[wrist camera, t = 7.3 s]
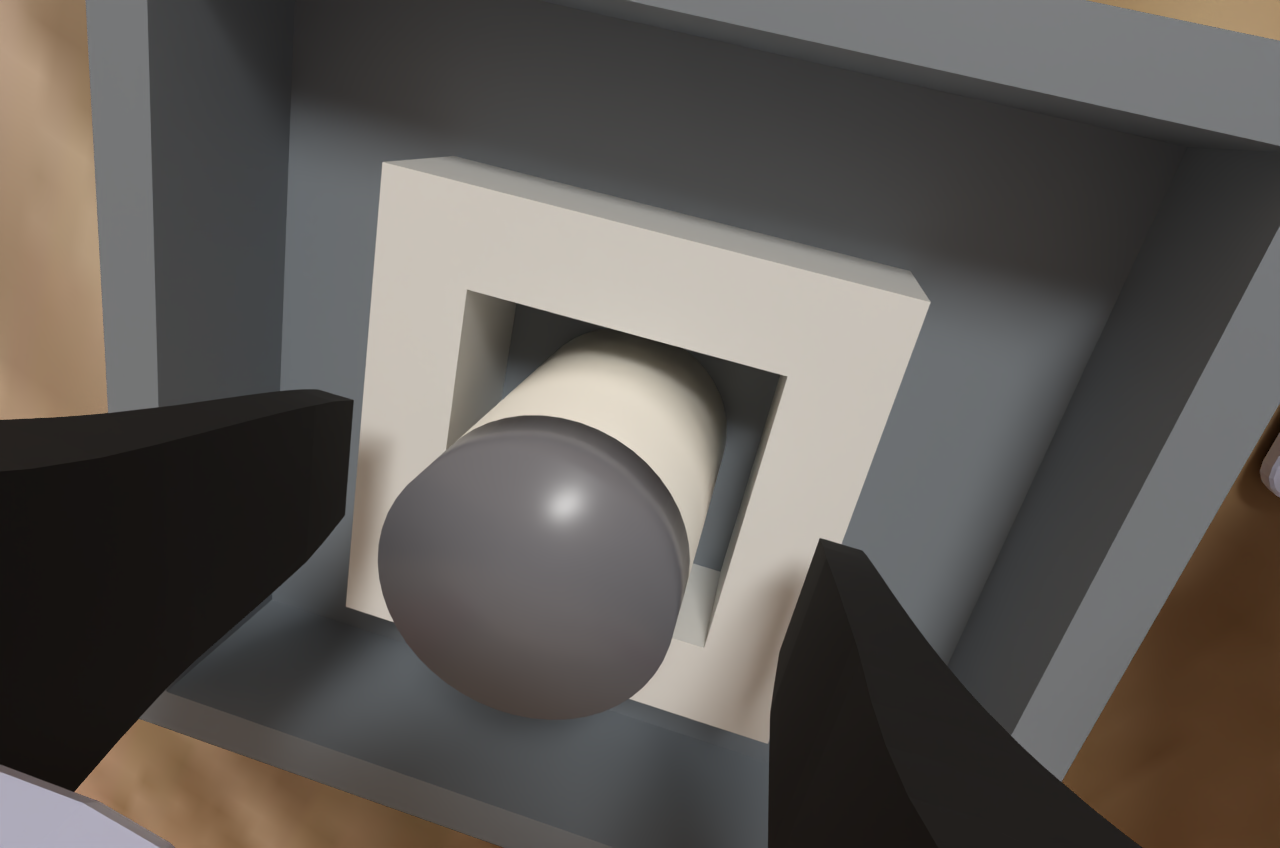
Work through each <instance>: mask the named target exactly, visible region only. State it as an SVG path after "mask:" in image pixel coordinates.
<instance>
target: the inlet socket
mask: <svg viewBox="0 0 1280 848" xmlns="http://www.w3.org/2000/svg"><path fill="white" fill-rule="evenodd" d="M516 303H519V304H522V305H526V306H530V307H533V308H537V309H541V310H544V311H548V312H552V313H555V314H559V315H563V316H566V317H570V318H574V319H578V320H581V321H585V322H589V323H592V324H596V325H600V326H603V327H607V328H611V329H614V330H618V331H622V332H625V333H629V334H633V335H636V336H640V337H644V338H647V339H651V340H655V341H658V342H662V343H666V344H670V345H673V346H677V347H681V348H684V349H688V350H692V351H695V352H699V353H703V354H706V355H710V356H714V357H717V358H721V359H725V360H728V361H732V362H736V363H739V364H743V365H747V366H750V367H754V368H758V369H762V370H765V371H769V372H773V373H776V374H780V377H779V381H778V384H777V387H776V391H775V394H774V397H773V400H772V404H771V407H770V410H769V414H768V417H767V420H766V424H765V427H764V430H763V433H762V437H761V440H760V443H759V447H758V450H757V453H756V457H755V460H754V463H753V466H752V470H751V473H750V476H749V480H748V483H747V486H746V490H745V493H744V496H743V499H742V503H741V506H740V509H739V513H738V516H737V519H736V522H735V526H734V529H733V532H732V536H731V539H730V542H729V546H728V549H727V552H726V555H725V559H724V562H723V565H722V569H721V572H720V571H716V570H713V569H710V568H706V567H703V566H700V565H697V564H693V565H692V569H691V572H690V576H689V579H688V583H687V586H686V590H685V594H684V597H683V601H682V604H681V608H680V611H679V615H678V618H677V622H676V626H675V629H674V633H673V636H672V640H671V643H670V646H669V649H668V651H667V653H666V656H665V658H664V661H663V662H662V664H661V665H660V667H659V668H658V670H657V672H656V673H655V675H654V676H653V677H652V678H651V679H650V680H649V681H648V683H647V684H646V685H645V686H644V687H643V688H642V689H641V690H639V691H638V692H637V693H636V694H634V695H633V696H632V697H631V698H629V699H631V700H634V701H637V702H640V703H644V704H647V705H650V706H653V707H656V708H659V709H662V710H665V711H668V712H671V713H674V714H677V715H680V716H683V717H687V718H690V719H693V720H696V721H699V722H702V723H705V724H708V725H711V726H714V727H717V728H720V729H723V730H726V731H730V732H733V733H736V734H739V735H742V736H745V737H748V738H751V739H754V740H757V741H760V742H763V743H766V744H768V742H769V736H770V710H771V703H772V696H773V689H774V682H775V675H776V669H777V663H778V656H779V651H780V648H781V646H782V643H783V640H784V637H785V634H786V632H787V629H788V626H789V623H790V620H791V617H792V615H793V612H794V609H795V606H796V603H797V601H798V598H799V595H800V592H801V589H802V586H803V584H804V581H805V578H806V575H807V572H808V570H809V567H810V564H811V561H812V558H813V556H814V553H815V550H816V547H817V544H818V541H819V539H820V538H822V539H826V540H829V541H832V542H836V543H839V544H842V541H843V538H844V536H845V533H846V530H847V528H848V525H849V522H850V520H851V517H852V514H853V511H854V509H855V506H856V503H857V501H858V498H859V495H860V492H861V490H862V487H863V484H864V482H865V479H866V476H867V473H868V471H869V468H870V465H871V463H872V460H873V457H874V454H875V452H876V449H877V446H878V444H879V441H880V438H881V435H882V433H883V430H884V427H885V425H886V422H887V419H888V416H889V414H890V411H891V408H892V406H893V403H894V400H895V398H896V395H897V392H898V389H899V387H900V384H901V381H902V379H903V376H904V373H905V370H906V368H907V365H908V362H909V360H910V357H911V354H912V351H913V349H914V346H915V343H916V341H917V338H918V335H919V332H920V330H921V327H922V324H923V322H924V319H925V316H926V313H927V311H928V308H929V305H930V303H931V302H930V300H929V299H928V297H927V296H926V294H925V293H924V291H923V290H922V288H921V287H920V285H919V283H918V282H917V280H916V279H915V277H914V276H913V274H912V273H911V271H908V270H904V269H900V268H896V267H892V266H888V265H884V264H880V263H876V262H872V261H868V260H864V259H860V258H857V257H853V256H849V255H845V254H841V253H837V252H833V251H829V250H825V249H821V248H817V247H813V246H809V245H805V244H801V243H797V242H793V241H789V240H785V239H781V238H777V237H773V236H769V235H765V234H761V233H757V232H753V231H749V230H745V229H741V228H738V227H734V226H730V225H726V224H722V223H718V222H714V221H710V220H706V219H702V218H698V217H694V216H690V215H686V214H682V213H678V212H674V211H670V210H666V209H662V208H658V207H654V206H650V205H646V204H642V203H638V202H634V201H630V200H626V199H623V198H619V197H615V196H611V195H607V194H603V193H599V192H595V191H591V190H587V189H583V188H579V187H575V186H571V185H567V184H563V183H559V182H555V181H551V180H547V179H543V178H539V177H535V176H531V175H527V174H523V173H519V172H515V171H511V170H508V169H504V168H500V167H496V166H492V165H488V164H484V163H480V162H476V161H472V160H468V159H464V158H460V157H456V156H448V157H436V158H424V159H412V160H400V161H388V162H382V174H381V186H380V198H379V210H378V223H377V235H376V247H375V259H374V271H373V283H372V295H371V307H370V319H369V332H368V344H367V356H366V368H365V380H364V392H363V404H362V416H361V429H360V441H359V453H358V465H357V477H356V489H355V501H354V513H353V525H352V538H351V550H350V562H349V574H348V586H347V598H346V607H349V608H352V609H355V610H358V611H361V612H364V613H367V614H370V615H373V616H376V617H379V618H382V619H385V620H388V621H392V622H394V621H393V619H392V617H391V615H390V613H389V611H388V608H387V606H386V603H385V600H384V597H383V594H382V590H381V585H380V581H379V573H378V544H379V540H380V535H381V530H382V527H383V524H384V521H385V519H386V516H387V513H388V511H389V510H390V508H391V506H392V505H393V503H394V501H395V499H396V498H397V497H398V495H399V494H400V493H401V492H402V491H403V489H404V488H405V487H406V486H407V485H408V484H409V483H410V482H411V481H412V480H413V479H414V478H416V477H417V476H418V475H419V474H420V473H421V472H422V471H423V470H424V469H426V468H427V467H428V466H429V465H430V464H431V463H432V462H433V461H435V460H436V459H437V458H438V457H439V456H440V455H441V454H442V453H443V452H445V451H446V450H447V449H448V448H449V447H450V446H451V445H452V444H454V443H455V442H456V441H457V440H458V439H459V438H460V437H461V436H462V435H464V434H465V433H466V432H467V431H468V430H469V429H470V428H471V427H472V426H474V425H475V424H476V423H477V422H478V421H479V420H480V419H481V418H483V417H484V416H485V415H486V414H487V413H488V412H489V411H490V410H491V409H493V408H494V407H495V406H496V405H497V404H498V403H499V402H500V401H501V399H502V393H503V386H504V380H505V373H506V367H507V361H508V354H509V348H510V342H511V335H512V329H513V323H514V316H515V310H516Z"/></svg>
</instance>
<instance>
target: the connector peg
mask: <svg viewBox="0 0 1280 848" xmlns="http://www.w3.org/2000/svg"><path fill="white" fill-rule="evenodd" d="M726 437H727V422H726V415H725V410H724V406H723V402H722V399H721V396H720V394H719V392H718V390H717V388H716V385H715V383H714V382H713V380H712V379H711V377H710V376H709V374H708V373H707V371H706V370H705V369H704V368H703V366H702V365H701V364H700V363H699V362H698V361H697V360H696V359H695V358H694V357H693V356H692V355H691V354H690V353H689V352H687V351H686V350H685V349H683V348H681V347H677V346H673V345H670V344H666V343H662V342H658V341H655V340H651V339H647V338H644V337H640V336H636V335H633V334H629V333H625V332H622V331H618V330H614V329H611V328H605V329H599V330H595V331H592V332H588V333H585V334H583V335H581V336H579V337H576V338H574V339H572V340H571V341H569V342H568V343H566V344H565V345H563V346H562V347H561V348H560V349H559V350H557V351H556V352H555V353H554V354H553V355H552V356H551V357H550V358H548V359H547V360H546V361H545V362H544V363H543V364H542V365H541V366H539V367H538V368H537V369H536V370H535V371H534V372H533V373H532V374H531V375H529V376H528V377H527V378H526V379H525V380H524V381H523V382H522V383H520V384H519V385H518V386H517V387H516V388H515V389H514V390H513V391H512V392H510V393H509V394H508V395H507V396H506V397H505V398H504V399H503V400H502V401H500V402H499V403H498V404H497V405H496V406H495V407H494V408H493V409H491V410H490V411H489V412H488V413H487V414H486V415H485V416H484V417H483V418H481V419H480V420H479V421H478V422H477V423H476V424H475V425H474V426H472V427H471V428H470V429H469V430H468V431H467V432H466V433H465V434H464V435H462V436H461V437H460V438H459V439H458V440H457V441H456V442H455V443H454V444H452V445H451V446H450V447H449V448H448V449H447V450H446V451H445V452H443V453H442V454H441V455H440V456H439V457H438V458H437V459H436V460H435V461H433V462H432V463H431V464H430V465H429V466H428V467H427V468H426V469H424V470H423V471H422V472H421V473H420V474H419V475H418V476H417V477H416V478H414V479H413V480H412V481H411V482H410V483H409V484H408V485H407V486H406V487H405V488H404V489H403V491H402V492H401V493H400V494H399V495H398V497H397V498H396V499H395V501H394V503H393V505H392V506H391V508H390V510H389V511H388V513H387V516H386V519H385V521H384V524H383V527H382V530H381V535H380V540H379V544H378V573H379V581H380V585H381V590H382V594H383V597H384V600H385V603H386V606H387V608H388V611H389V613H390V615H391V617H392V619H393V621H394V623H395V625H396V627H397V629H398V631H399V632H400V634H401V635H402V637H403V638H404V640H405V641H406V643H407V644H408V645H409V647H410V648H411V649H412V650H413V652H414V653H415V654H416V655H417V657H418V658H419V659H420V660H421V661H422V662H423V663H424V664H425V665H426V666H427V667H428V668H429V669H430V670H431V671H432V672H434V673H435V674H436V675H437V676H438V677H440V678H441V679H442V680H443V681H444V682H446V683H447V684H449V685H450V686H452V687H453V688H455V689H456V690H458V691H459V692H461V693H462V694H464V695H466V696H468V697H470V698H471V699H473V700H475V701H477V702H479V703H481V704H484V705H486V706H489V707H491V708H493V709H496V710H499V711H502V712H506V713H509V714H512V715H517V716H522V717H527V718H533V719H545V720H567V719H574V718H581V717H587V716H590V715H594V714H597V713H601V712H604V711H606V710H608V709H611V708H613V707H615V706H617V705H619V704H621V703H622V702H624V701H626V700H627V699H629V698H631V697H632V696H633V695H634V694H636V693H637V692H638V691H639V690H641V689H642V688H643V687H644V686H645V685H646V684H647V683H648V681H649V680H650V679H651V678H652V677H653V676H654V675H655V673H656V672H657V670H658V668H659V667H660V665H661V664H662V662H663V661H664V658H665V656H666V653H667V651H668V649H669V646H670V643H671V640H672V636H673V633H674V629H675V626H676V622H677V618H678V615H679V611H680V608H681V604H682V601H683V597H684V594H685V590H686V586H687V583H688V579H689V576H690V572H691V569H692V565H693V561H694V558H695V554H696V551H697V547H698V544H699V540H700V537H701V533H702V529H703V526H704V522H705V519H706V515H707V512H708V508H709V504H710V501H711V497H712V494H713V490H714V487H715V483H716V479H717V476H718V472H719V469H720V465H721V462H722V458H723V454H724V450H725V446H726Z"/></svg>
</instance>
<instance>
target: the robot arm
mask: <svg viewBox="0 0 1280 848" xmlns="http://www.w3.org/2000/svg"><path fill="white" fill-rule="evenodd" d="M353 405H354V400H352V399H349V398H345V397H342V396H339V395H335V394H332V393H329V392H325V391H322V390H318V389H298V390H285V391H276V392H267V393H259V394H252V395H244V396H237V397H230V398H223V399H216V400H209V401H202V402H195V403H188V404H181V405H173V406H164V407H156V408H147V409H139V410H130V411H121V412H113V413H104V414H94V415H83V416H69V417H55V418H34V419H13V420H0V848H175V847H174V846H173V845H172V844H171V843H170V842H168V841H166V840H164V839H163V838H161V837H159V836H157V835H156V834H154V833H152V832H151V831H149V830H147V829H145V828H144V827H142V826H140V825H139V824H137V823H135V822H133V821H132V820H130V819H128V818H127V817H125V816H123V815H121V814H120V813H118V812H116V811H115V810H113V809H111V808H109V807H108V806H106V805H104V804H103V803H101V802H99V801H96V800H94V799H91V798H88V797H86V796H83V795H80V794H78V793H75V792H74V791H75V790H76V789H77V788H78V787H79V786H80V784H81V783H82V782H83V781H84V780H85V779H86V778H87V776H88V775H89V774H90V773H91V772H92V771H93V769H94V768H95V767H96V766H97V765H98V764H99V763H100V761H101V760H102V759H103V758H104V757H105V756H106V754H107V753H108V752H109V751H110V750H111V749H112V748H113V746H114V745H115V744H116V743H117V742H118V741H119V740H120V738H121V737H122V736H123V735H124V734H125V733H126V732H127V731H128V730H129V729H130V728H131V727H132V725H133V724H134V723H135V722H136V721H137V720H138V719H139V718H140V717H141V716H142V715H143V714H144V712H145V711H146V710H147V709H148V708H149V707H150V706H151V705H152V704H153V703H154V702H155V701H156V699H157V698H158V697H159V696H160V695H161V694H162V693H163V692H164V691H165V690H166V689H167V688H168V687H169V685H170V684H171V683H173V682H174V681H175V680H176V679H177V678H178V677H179V676H180V675H181V674H182V673H183V672H184V671H185V670H186V669H187V668H188V667H189V666H190V665H191V664H192V663H193V662H194V661H196V660H197V659H198V658H199V657H200V656H201V655H202V654H204V653H205V652H206V651H207V650H208V649H209V648H210V647H212V646H213V645H214V644H215V643H216V642H217V641H218V640H219V639H221V638H222V637H223V636H224V635H225V634H226V633H227V632H229V631H230V630H231V629H232V628H233V627H234V626H235V625H237V624H238V623H239V622H240V621H241V620H242V619H243V618H245V617H246V616H247V615H248V614H249V613H250V612H251V611H253V610H254V609H255V608H256V607H257V606H258V605H259V604H260V603H262V602H263V601H264V600H265V599H266V598H267V597H268V596H270V595H271V594H272V593H273V592H274V591H275V590H276V589H277V588H278V587H280V586H281V585H282V584H283V583H284V582H285V581H286V580H287V579H288V578H290V577H291V576H292V575H293V574H294V573H295V572H296V571H297V570H298V569H299V568H301V567H302V566H303V565H304V564H305V563H306V562H307V561H308V560H309V558H310V557H311V556H312V555H313V554H314V553H315V552H316V550H317V549H318V548H319V547H320V546H321V545H322V544H323V542H324V541H325V540H326V539H327V537H328V536H329V535H330V534H331V532H332V531H333V530H334V529H335V527H336V526H337V525H338V524H339V522H340V521H341V520H342V519H343V517H344V516H345V509H346V496H347V483H348V470H349V457H350V444H351V431H352V418H353ZM1260 475H1261V481H1262V482H1263V483H1264V485H1265V486H1266V487H1267V488H1268V489H1269V490H1270V491H1271V492H1273V493H1274V494H1275V495H1276V496H1278V497H1280V433H1279V434H1278V436H1277V438H1276V440H1275V441H1274V443H1273V445H1272V446H1271V448H1270V450H1269V452H1268V453H1267V455H1266V457H1265V458H1264V460H1263V463H1262V466H1261V469H1260ZM768 848H1142V847H1141V846H1139V845H1138V844H1137V843H1135V842H1134V841H1133V840H1131V839H1130V838H1129V837H1127V836H1126V835H1125V834H1124V833H1122V832H1121V831H1120V830H1119V829H1117V828H1116V827H1115V826H1114V825H1112V824H1111V823H1110V822H1109V821H1107V820H1106V819H1105V818H1103V817H1102V816H1101V815H1100V814H1098V813H1097V812H1096V811H1095V810H1093V809H1092V808H1091V807H1090V806H1089V805H1088V804H1086V803H1085V802H1084V801H1083V800H1082V799H1081V798H1079V797H1078V796H1077V795H1076V794H1075V793H1074V792H1072V791H1071V790H1070V789H1069V788H1068V787H1067V786H1065V785H1064V784H1063V783H1062V782H1061V781H1060V780H1059V779H1057V778H1056V777H1055V776H1054V775H1053V774H1052V773H1050V772H1049V771H1048V770H1047V769H1046V768H1045V767H1044V766H1042V765H1041V764H1040V763H1039V762H1038V761H1037V760H1036V759H1035V758H1034V757H1033V756H1032V755H1031V754H1030V753H1028V752H1027V751H1026V750H1025V749H1024V748H1023V747H1022V746H1021V745H1020V744H1019V743H1018V742H1017V741H1016V740H1015V739H1014V738H1013V737H1012V736H1011V735H1010V734H1009V733H1008V732H1007V731H1006V730H1005V729H1004V728H1003V727H1002V726H1001V725H1000V724H999V723H998V722H997V721H996V720H995V719H994V718H993V717H992V716H991V715H990V714H989V713H988V712H987V711H986V710H985V709H984V708H983V706H982V705H981V704H980V703H979V702H978V701H977V700H976V699H975V698H974V697H973V696H972V694H971V693H970V692H969V691H968V690H967V689H966V688H965V686H964V685H963V684H962V683H961V682H960V681H959V679H958V678H957V677H956V676H955V675H954V673H953V672H952V671H951V670H950V669H949V667H948V666H947V665H946V664H945V663H944V661H943V660H942V659H941V658H940V657H939V655H938V654H937V653H936V651H935V650H934V649H933V648H932V646H931V645H930V644H929V643H928V641H927V640H926V639H925V637H924V636H923V635H922V633H921V632H920V631H919V629H918V628H917V627H916V625H915V624H914V622H913V621H912V620H911V618H910V617H909V616H908V614H907V613H906V611H905V610H904V609H903V607H902V606H901V604H900V603H899V601H898V600H897V599H896V597H895V596H894V594H893V593H892V591H891V590H890V588H889V587H888V585H887V584H886V583H885V581H884V580H883V578H882V577H881V575H880V574H879V572H878V571H877V569H876V568H875V566H874V565H873V564H872V562H871V561H870V559H869V558H868V557H867V555H866V554H865V553H864V552H863V550H859V549H856V548H853V547H849V546H846V545H842V544H839V543H836V542H832V541H829V540H826V539H822V538H820V539H819V541H818V544H817V547H816V550H815V553H814V556H813V558H812V561H811V564H810V567H809V570H808V572H807V575H806V578H805V581H804V584H803V586H802V589H801V592H800V595H799V598H798V601H797V603H796V606H795V609H794V612H793V615H792V617H791V620H790V623H789V626H788V629H787V632H786V634H785V637H784V640H783V643H782V646H781V648H780V651H779V656H778V663H777V669H776V675H775V682H774V689H773V696H772V703H771V710H770V736H769V796H768Z"/></svg>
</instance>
